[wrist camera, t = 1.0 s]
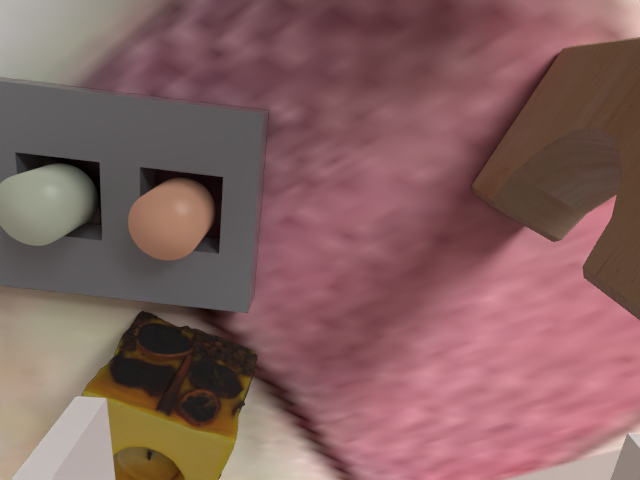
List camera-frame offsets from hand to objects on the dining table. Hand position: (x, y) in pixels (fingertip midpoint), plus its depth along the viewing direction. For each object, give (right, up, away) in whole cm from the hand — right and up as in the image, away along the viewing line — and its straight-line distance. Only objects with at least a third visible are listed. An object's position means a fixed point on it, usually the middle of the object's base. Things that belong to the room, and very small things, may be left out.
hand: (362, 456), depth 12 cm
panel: (-18, +9, +22) cm, 30 cm away
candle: (-12, -6, +27) cm, 31 cm away
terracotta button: (-10, +8, +20) cm, 24 cm away
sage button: (-18, +9, +20) cm, 28 cm away
